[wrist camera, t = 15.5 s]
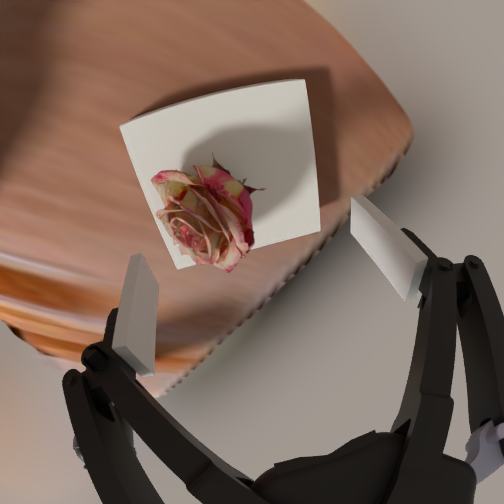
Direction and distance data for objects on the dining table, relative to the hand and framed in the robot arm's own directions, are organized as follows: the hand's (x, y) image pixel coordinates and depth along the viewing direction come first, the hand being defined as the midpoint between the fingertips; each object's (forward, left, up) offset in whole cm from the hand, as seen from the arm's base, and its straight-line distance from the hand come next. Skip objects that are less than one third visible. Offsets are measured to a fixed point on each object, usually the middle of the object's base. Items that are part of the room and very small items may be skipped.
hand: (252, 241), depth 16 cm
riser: (0, 0, -14) cm, 14 cm away
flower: (0, 0, -10) cm, 10 cm away
